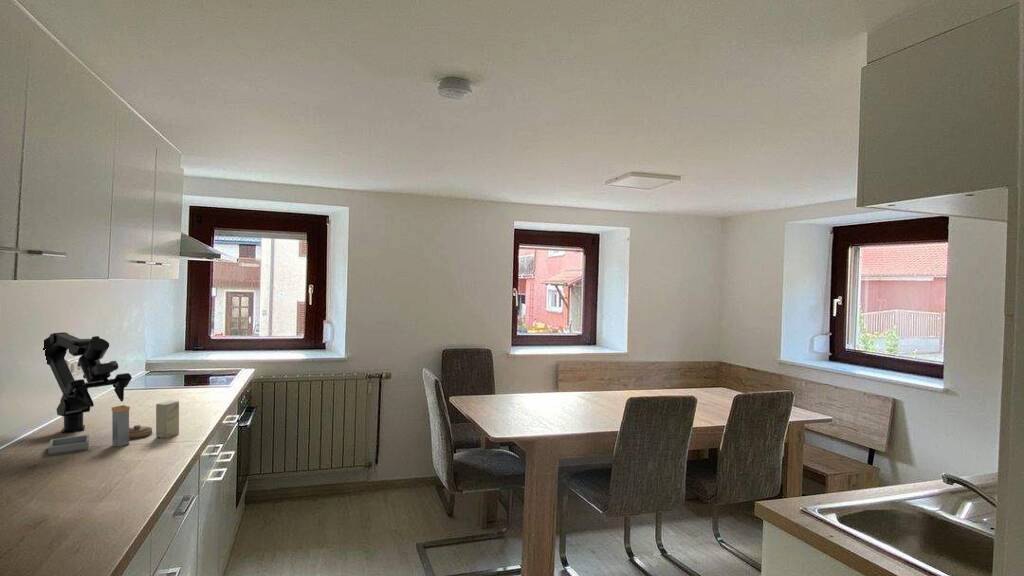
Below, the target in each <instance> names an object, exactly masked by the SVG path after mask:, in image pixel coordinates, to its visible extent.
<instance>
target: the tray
mask: <svg viewBox="0 0 1024 576" xmlns="http://www.w3.org/2000/svg"><path fill="white" fill-rule="evenodd" d="M89 444H90V435H89V434H84V435H75V436H69V437H60V438H59V437H58V438H53V439H50V442H49V445H48V447H47V449H48V450H47V451H48V452H47V453H48V456H53V455H52V454H54V455H61V454H68V453H75V452H81V451H83V450H84V451H88V450H89Z"/></svg>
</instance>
